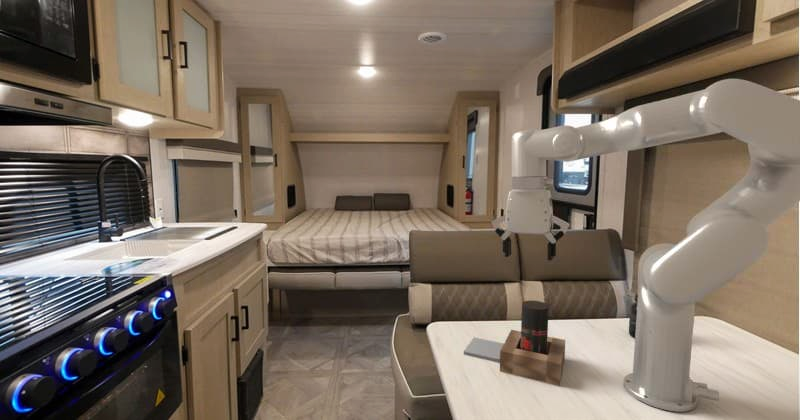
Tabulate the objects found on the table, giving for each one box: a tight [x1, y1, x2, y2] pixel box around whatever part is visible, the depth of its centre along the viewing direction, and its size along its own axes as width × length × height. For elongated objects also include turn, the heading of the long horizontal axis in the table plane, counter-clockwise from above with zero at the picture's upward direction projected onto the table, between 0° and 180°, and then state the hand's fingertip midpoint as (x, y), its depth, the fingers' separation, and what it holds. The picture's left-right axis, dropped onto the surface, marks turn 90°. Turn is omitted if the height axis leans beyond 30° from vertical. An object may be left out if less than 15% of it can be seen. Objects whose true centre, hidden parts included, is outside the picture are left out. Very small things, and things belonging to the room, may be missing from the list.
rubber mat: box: [463, 336, 505, 363], centre depth 97 cm, size 9×9×1 cm
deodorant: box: [520, 300, 550, 355], centre depth 89 cm, size 6×6×15 cm
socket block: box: [499, 329, 566, 387], centre depth 89 cm, size 13×13×5 cm
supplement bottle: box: [628, 292, 638, 339], centre depth 104 cm, size 7×7×12 cm
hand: (528, 257), depth 88 cm, fingers open, 9 cm apart
